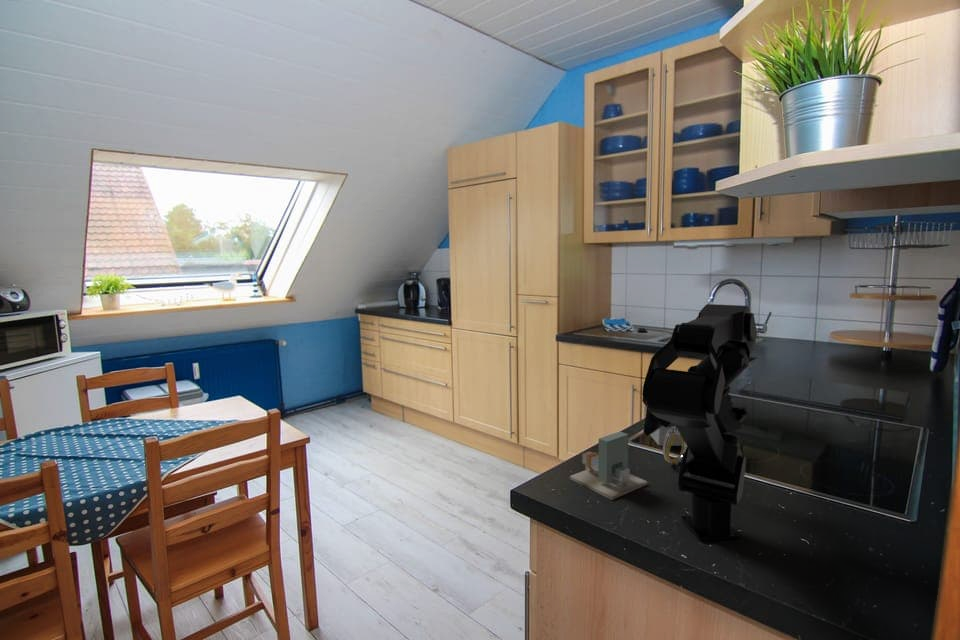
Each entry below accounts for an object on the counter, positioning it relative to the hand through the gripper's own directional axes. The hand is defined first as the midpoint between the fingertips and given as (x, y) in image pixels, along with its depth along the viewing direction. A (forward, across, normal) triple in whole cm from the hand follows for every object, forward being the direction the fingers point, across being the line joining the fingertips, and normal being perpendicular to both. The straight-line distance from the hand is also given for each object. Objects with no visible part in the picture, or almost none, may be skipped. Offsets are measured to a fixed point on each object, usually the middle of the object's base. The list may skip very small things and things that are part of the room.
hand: (661, 429), depth 92 cm
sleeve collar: (+12, -6, -1) cm, 13 cm away
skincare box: (+17, +21, +4) cm, 27 cm away
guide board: (+13, -6, -2) cm, 14 cm away
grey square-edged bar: (+13, -6, 0) cm, 15 cm away
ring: (+11, +11, -4) cm, 16 cm away
